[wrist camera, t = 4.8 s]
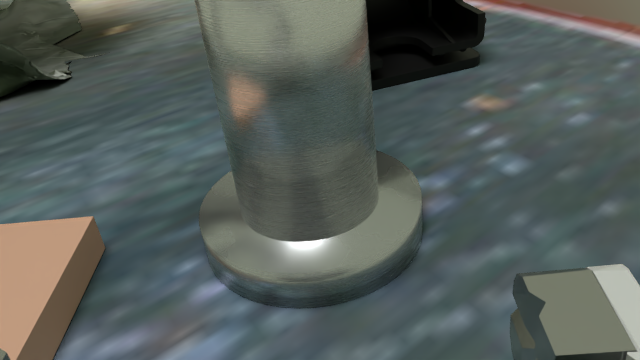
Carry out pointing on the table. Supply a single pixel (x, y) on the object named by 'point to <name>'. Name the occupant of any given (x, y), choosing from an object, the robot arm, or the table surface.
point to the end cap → (421, 39)
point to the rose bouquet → (35, 42)
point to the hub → (302, 157)
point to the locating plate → (43, 282)
